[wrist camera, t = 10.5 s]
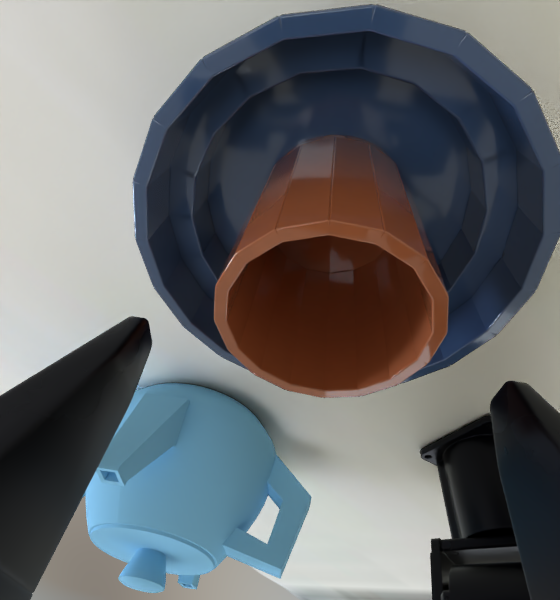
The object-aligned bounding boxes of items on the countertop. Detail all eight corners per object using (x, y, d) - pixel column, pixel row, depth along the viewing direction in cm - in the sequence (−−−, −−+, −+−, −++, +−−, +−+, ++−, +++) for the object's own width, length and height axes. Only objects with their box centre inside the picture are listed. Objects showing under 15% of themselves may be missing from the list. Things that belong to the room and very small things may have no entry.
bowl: (357, 356, 22) (360, 425, 18) (143, 239, 19) (94, 295, 15) (589, 161, 14) (678, 216, 10) (278, -105, 11) (243, -166, 7)
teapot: (214, 487, 37) (176, 627, 28) (78, 416, 31) (-17, 562, 23) (326, 441, 29) (319, 619, 20) (167, 335, 23) (70, 516, 15)
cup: (346, 292, 19) (347, 420, 13) (236, 228, 17) (181, 339, 11) (442, 192, 15) (506, 310, 9) (312, 98, 13) (288, 167, 8)
